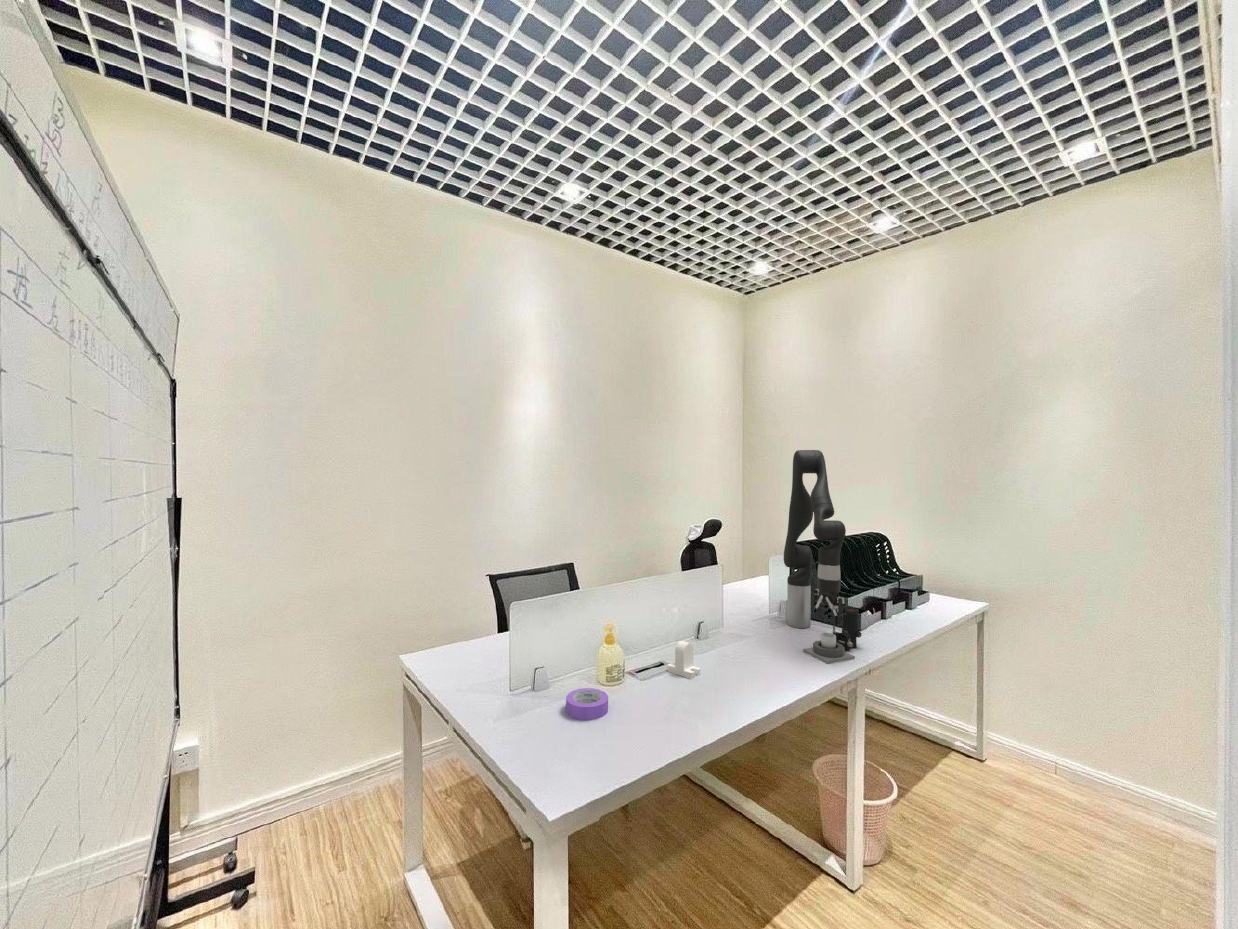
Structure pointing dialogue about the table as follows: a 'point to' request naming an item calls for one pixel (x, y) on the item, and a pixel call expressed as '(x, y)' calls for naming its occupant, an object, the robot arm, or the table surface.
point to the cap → (828, 640)
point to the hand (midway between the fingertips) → (828, 622)
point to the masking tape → (587, 711)
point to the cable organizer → (684, 661)
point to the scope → (848, 629)
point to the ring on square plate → (828, 653)
